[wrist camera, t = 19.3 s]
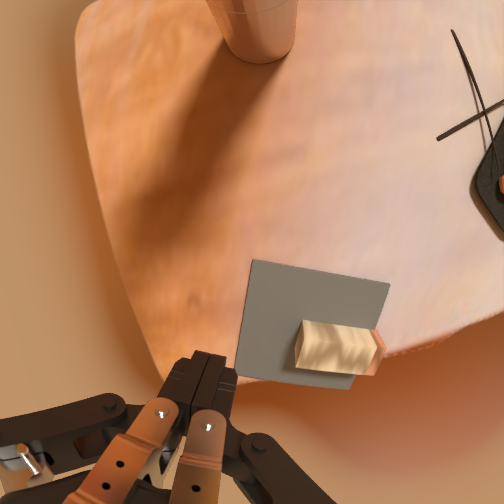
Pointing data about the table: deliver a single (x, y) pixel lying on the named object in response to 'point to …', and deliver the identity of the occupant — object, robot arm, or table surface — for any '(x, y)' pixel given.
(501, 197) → the sushi plate
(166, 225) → the table surface
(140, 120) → the table surface
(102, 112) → the table surface
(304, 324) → the birch block
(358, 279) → the slate mat
